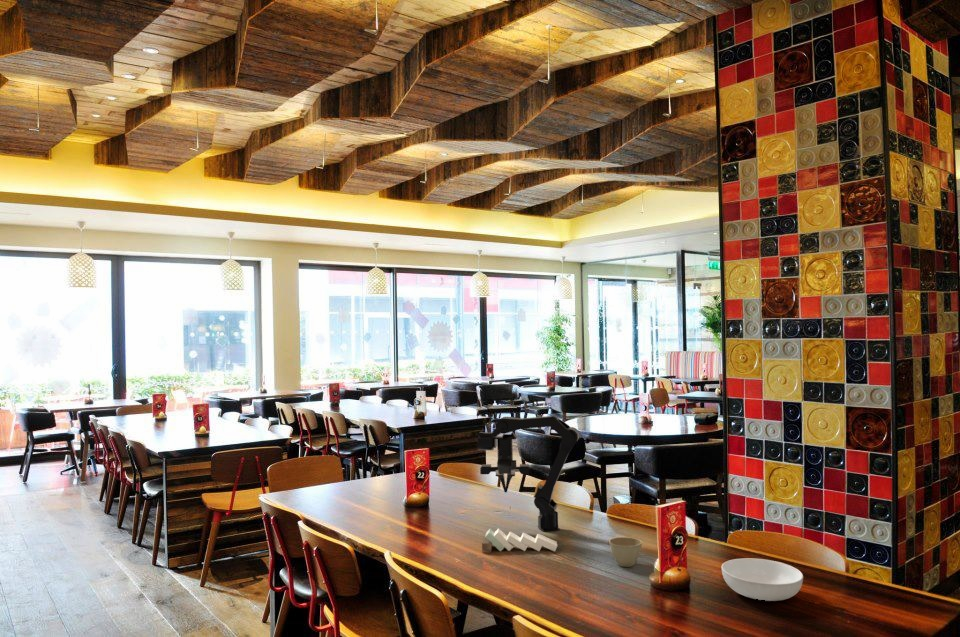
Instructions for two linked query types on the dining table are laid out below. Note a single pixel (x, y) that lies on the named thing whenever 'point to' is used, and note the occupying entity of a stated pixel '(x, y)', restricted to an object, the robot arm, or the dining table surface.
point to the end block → (486, 545)
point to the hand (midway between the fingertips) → (505, 492)
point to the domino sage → (494, 540)
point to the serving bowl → (762, 578)
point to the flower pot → (625, 550)
